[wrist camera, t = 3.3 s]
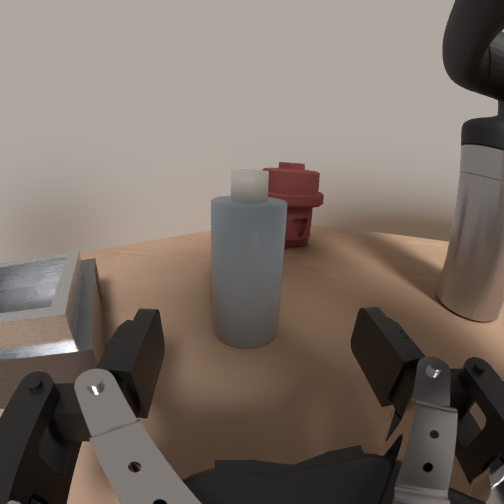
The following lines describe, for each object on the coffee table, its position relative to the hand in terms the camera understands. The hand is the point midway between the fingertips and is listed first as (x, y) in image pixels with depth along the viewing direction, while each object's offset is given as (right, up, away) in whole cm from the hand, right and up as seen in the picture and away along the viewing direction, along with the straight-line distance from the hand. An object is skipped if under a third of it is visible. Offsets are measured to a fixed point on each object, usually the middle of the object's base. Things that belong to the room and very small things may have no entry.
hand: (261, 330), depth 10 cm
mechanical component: (+5, +4, +32) cm, 33 cm away
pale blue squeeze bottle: (-1, -3, +11) cm, 11 cm away
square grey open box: (-17, -4, +6) cm, 19 cm away
